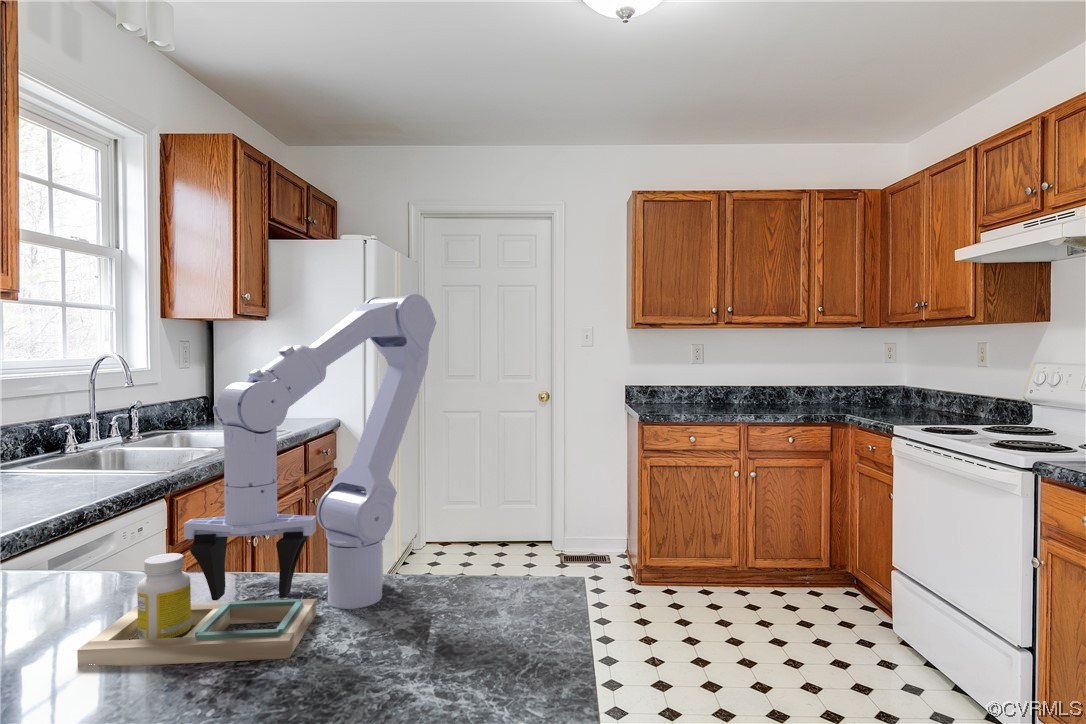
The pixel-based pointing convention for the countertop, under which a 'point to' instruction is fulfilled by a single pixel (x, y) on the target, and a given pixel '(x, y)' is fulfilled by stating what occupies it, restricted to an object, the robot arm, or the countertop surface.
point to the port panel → (207, 635)
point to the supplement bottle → (164, 598)
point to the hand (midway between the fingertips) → (251, 595)
